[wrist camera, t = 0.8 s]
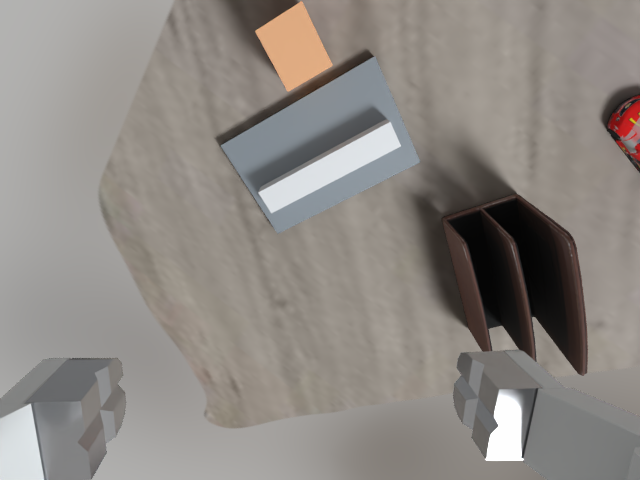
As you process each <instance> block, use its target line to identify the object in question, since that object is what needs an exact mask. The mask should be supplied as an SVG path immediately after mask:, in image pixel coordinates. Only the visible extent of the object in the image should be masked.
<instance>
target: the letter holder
mask: <svg viewBox="0 0 640 480" xmlns="http://www.w3.org/2000/svg"><path fill="white" fill-rule="evenodd" d="M442 222H443V226H444V230H445V234H446V238H447V242H448V246H449V250H450V254H451V258H452V262H453V267H454V271H455V275H456V279H457V283H458V287H459V291H460V295H461V300H462V303H463V307H464V311H465V315H466V319H467V323H468V328H469V330H470V332H471V333H472V335H473V337H474V338H475V340H476V342H477V343H478V345H479V346H480V348H481V350H482V351H483V352H485V351H492V346H491V341H490V335H489V330H488V329H489V328H493V327H497V326H503V327H504V328H505V330H506V331H507V332H508V334H509V335H510V337H511V338H512V340H513V341H514V343H515V344H516V346H517V347H518V348H519V350H521V351H524V352H525V353H526V354H527V355H529V356H530V357H531V358H532V359H533V360H534V361H535V362H536V349H535V338H534V331H533V323H532V317H536V319H537V320H538V321H539V323H540V324H541V325H542V327H543V328H544V329H545V331H546V332H547V333H548V334H549V336H550V337H551V339H552V340H553V341H554V343H555V344H556V345H557V346H558V348H559V349H560V351H561V352H562V353H563V354H564V356H565V357H566V359H567V360H568V361H569V362H570V364H571V365H572V366H573V368H574V369H575V370H576V371H577V373H578V374H580V375H582V376H584V374H586V373H587V362H588V345H587V343H588V342H587V323H586V313H585V305H584V296H583V287H582V279H581V272H580V266H579V260H578V254H577V248H576V244H575V241H574V239H573V237H572V236H571V234H570V233H569V232H568V231H567V230H565V229H564V228H563V227H561V226H560V225H559V224H557V223H556V222H555V221H554V220H552V219H551V218H550V217H548V216H547V215H545V214H544V213H543V212H541V211H540V210H539V209H538V208H536V207H535V206H533V205H532V204H530V203H529V202H528V201H526V200H525V199H524V198H522V197H521V196H520V195H518V194H514V195H511V196H508V197H505V198H501V199H499V200H495V201H492V202H489V203H486V204H483V205H480V206H477V207H473V208H470V209H468V210H465V211H461V212H459V213H455V214H452V215H449V216H446V217H444V218H442Z"/></svg>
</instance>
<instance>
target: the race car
mask: <svg viewBox="0 0 640 480" xmlns="http://www.w3.org/2000/svg"><path fill="white" fill-rule="evenodd" d="M607 127H608V129H607V131H608V132H609V133H610V134H611V136H612V137H613V138H614V139H617V140H615V141H616V142H617V143H618V145H619V146H620V147H621V149H622V150H623V151H624V153H625V154H626V155H627V156H628V158H629V159H630V160H631V162H632V163H633V164H634V165H635V167H636V168H637V169H638V171H640V95H638V96H634V97H632V98H629V99H627V100H626V101H624V102H623V103H621V104H620V105H619V106H618V107H617V109H616V110H615V111H614V112H613V114H612V115H611V118H610V120H609V122H608V126H607Z"/></svg>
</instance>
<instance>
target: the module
mask: <svg viewBox="0 0 640 480" xmlns="http://www.w3.org/2000/svg"><path fill="white" fill-rule="evenodd" d="M255 32H256V34H257V36H258V38H259V39H260V41H261V43H262V45H263V47H264V49H265V51H266V52H267V54H268V56H269V58H270V60H271V62H272V64H273V65H274V67H275V69H276V71H277V73H278V75H279V77H280V78H281V80H282V82H283V84H284V86H285V88H286V90H287V91H288V92H289V91H290V90H292V89H294V88H295V87H297V86H299V85H301V84H302V83H304V82H306V81H307V80H309V79H311V78H312V77H314V76H316V75H318V74H319V73H321V72H323V71H324V70H326V69H328V68H329V67H331V66H333V65H332V63H331V61H330V59H329V57H328V55H327V53H326V50H325V48H324V46H323V44H322V42H321V40H320V38H319V36H318V34H317V32H316V29H315V27H314V25H313V23H312V21H311V19H310V17H309V15H308V13H307V11H306V8H305V6H304V4H303V2H302V1H301V2H299V3H298V4H296V5H295V6H293V7H292V8H290V9H289V10H287V11H285V12H284V13H282V14H281V15H279V16H278V17H276V18H275V19H273V20H271V21H270V22H268V23H267V24H265V25H264V26H262V27H260V28H259V29H257V30H256V31H255Z"/></svg>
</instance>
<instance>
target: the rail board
mask: <svg viewBox="0 0 640 480" xmlns="http://www.w3.org/2000/svg"><path fill="white" fill-rule="evenodd" d="M221 147H222V149H223V150H224V152H225V153H226V155H227V156H228V158H229V159H230V161H231V163H232V164H233V166H234V167H235V169H236V170H237V172H238V173H239V175H240V176H241V178H242V180H243V181H244V183H245V184H246V186H247V187H248V189H249V190H250V192H251V193H252V195H253V197H254V198H255V200H256V201H257V203H258V204H259V206H260V207H261V209H262V210H263V212H264V213H265V215H266V217H267V218H268V220H269V221H270V223H271V224H272V226H273V227H274V229H275V230H276V232H277V234H278V233H280V232H282V231H284V230H286V229H288V228H290V227H292V226H294V225H296V224H298V223H300V222H302V221H304V220H306V219H308V218H310V217H312V216H314V215H316V214H318V213H320V212H322V211H324V210H326V209H328V208H330V207H332V206H334V205H336V204H338V203H340V202H342V201H344V200H346V199H348V198H350V197H352V196H354V195H356V194H358V193H360V192H362V191H364V190H366V189H368V188H370V187H372V186H374V185H376V184H378V183H380V182H382V181H384V180H386V179H388V178H390V177H392V176H394V175H396V174H398V173H400V172H402V171H404V170H406V169H408V168H410V167H412V166H414V165H416V164H418V163H420V160H419V158H418V155H417V153H416V151H415V148H414V146H413V144H412V141H411V139H410V137H409V134H408V132H407V130H406V127H405V125H404V123H403V120H402V118H401V116H400V113H399V111H398V109H397V106H396V104H395V102H394V99H393V97H392V95H391V92H390V90H389V87H388V85H387V83H386V80H385V78H384V76H383V73H382V71H381V69H380V66H379V64H378V62H377V59H376V57H375V56H373V57H372V58H370V59H368V60H366V61H365V62H363V63H361V64H360V65H358V66H356V67H354V68H353V69H351V70H349V71H347V72H346V73H344V74H342V75H341V76H339V77H337V78H335V79H334V80H332V81H330V82H329V83H327V84H325V85H323V86H322V87H320V88H318V89H316V90H315V91H313V92H311V93H310V94H308V95H306V96H304V97H303V98H301V99H299V100H297V101H296V102H294V103H292V104H291V105H289V106H287V107H285V108H284V109H282V110H280V111H279V112H277V113H275V114H273V115H272V116H270V117H268V118H266V119H265V120H263V121H261V122H260V123H258V124H256V125H254V126H253V127H251V128H249V129H248V130H246V131H244V132H242V133H241V134H239V135H237V136H235V137H234V138H232V139H230V140H229V141H227V142H225V143H223V144H222V145H221Z"/></svg>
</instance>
